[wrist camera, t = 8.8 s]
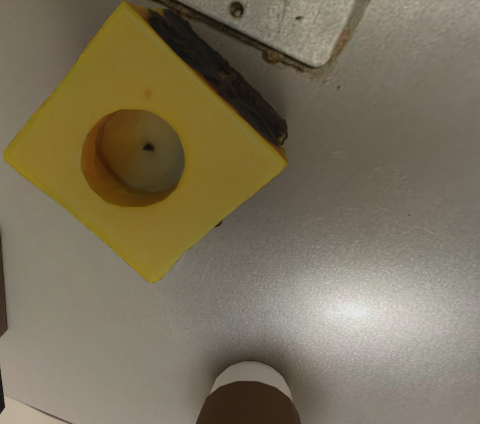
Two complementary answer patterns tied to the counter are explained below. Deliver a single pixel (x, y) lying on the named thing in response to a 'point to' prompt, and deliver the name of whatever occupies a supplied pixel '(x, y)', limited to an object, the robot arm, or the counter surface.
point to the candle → (150, 139)
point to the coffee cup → (249, 397)
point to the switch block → (2, 300)
